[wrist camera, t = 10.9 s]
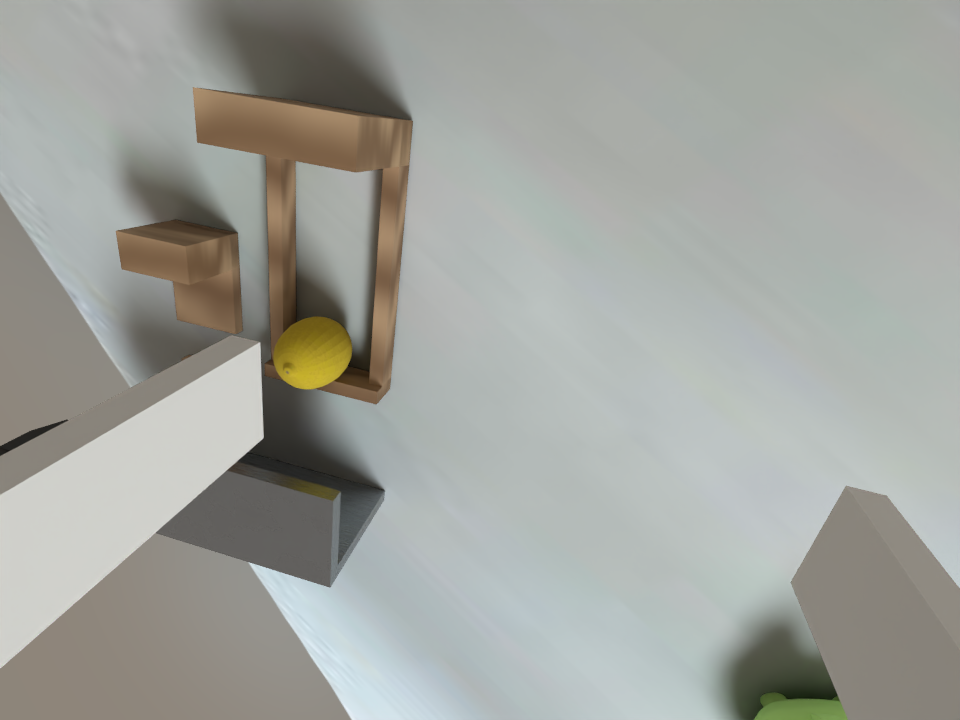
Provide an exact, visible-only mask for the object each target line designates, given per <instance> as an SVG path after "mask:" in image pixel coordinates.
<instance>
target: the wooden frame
mask: <svg viewBox="0 0 960 720" xmlns="http://www.w3.org/2000/svg"><path fill="white" fill-rule="evenodd" d="M193 95H194V107H195V120H196V133H197V142H198V143H203V144H208V145H214V146H219V147H224V148H229V149H235V150H240V151H245V152H251V153H256V154H261V155H266V176H267V214H268V252H269V291H270V329H271V360H269V361H268V362H266V363H265V376H267V377H271V378H275V379H279V380H283V379H282V378H281V377H280V376H279V374H278V372H277V371H276V368H275V365H274V361H273V353H274V348H275V345H276V343H277V341H278V339H279V338H280V336H281V335H282V334H283V333H284V332H285V331H286V330H287V329H288V328H289V327H290V326H291V325H293V324H294V323H296V174H295V161H298V162H303V163H309V164H314V165H319V166H325V167H330V168H335V169H341V170H346V171H351V172H363V171H370V170H377V169H383V177H382V192H381V207H380V223H379V238H378V253H377V268H376V284H375V299H374V314H373V329H372V345H371V360H370V372H368V371H364V370H360V369H356V368H352V367H348V366H347V368H346V369H345V370H344V372H343V373H342V374H341V375H340V376H339V377H338V378H337V379H335V380H334V381H332V382H331V383H329V384H327V385H325V386H322V387H319V388H315V389H318V390H322V391H326V392H330V393H334V394H338V395H342V396H346V397H350V398H354V399H357V400H361V401H365V402H369V403H373V404H377V403H378V402H379V401H380V400H381V399H382V397H383V396H384V395H385V394H386V393H387V392H388V390H389V389H390V382H391V370H392V359H393V347H394V335H395V324H396V312H397V301H398V289H399V277H400V266H401V254H402V242H403V231H404V219H405V207H406V196H407V184H408V172H409V161H410V149H411V138H412V126H413V121H410V120H404V119H398V118H393V117H387V116H381V115H375V114H369V113H363V112H358V111H352V110H346V109H340V108H334V107H328V106H322V105H317V104H311V103H305V102H299V101H293V100H287V99H282V98H274V97H266V96H258V95H250V94H242V93H234V92H226V91H218V90H210V89H202V88H194V87H193ZM283 381H284V380H283Z"/></svg>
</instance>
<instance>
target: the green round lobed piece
mask: <svg viewBox="0 0 960 720" xmlns="http://www.w3.org/2000/svg"><path fill="white" fill-rule="evenodd" d="M760 702H761V704H762V706H763V708H762V709H761V710H760V711H759V713H758V714H757V716H756V717H755V719H754V720H848V719H847V716H846V714H845V711H844V709H843V707H842V704H841V702H840V699H839V697H838V696H836V697H834V698H833V699H832V700H826V699H787V698H786V697H785V696H784V695H782V694H779V693H774V692H770V693H766V694H764V695H762V696H761V698H760Z"/></svg>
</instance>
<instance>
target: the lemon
mask: <svg viewBox="0 0 960 720" xmlns="http://www.w3.org/2000/svg"><path fill="white" fill-rule="evenodd" d="M351 356H352V343H351V339H350V336H349V334H348V333H347V331H346V330H345V328H344V327H343V326H342V325H341V324H339V323H338V322H336V321H334V320H332V319H329V318H326V317H317V316H316V317H310V318H305V319H302V320H300V321H298V322H296V323H294V324H293V325H291V326H290V327H289V328H288V329H287V330H286V331H285V332H284V333H283V334H282V335H281V336H280V338H279V339H278V341H277V343H276V345H275V348H274V353H273V361H274V365H275V368H276V371H277V372H278V374H279V376H280V377H281V378H282V379H283V380H284V381H285V382H287V383H288V384H289V385H291V386H293V387H296V388H300V389H315V388H319V387H322V386H325V385H327V384H329V383H331V382H332V381H334V380H335V379H337V378H338V377H339V376H340V375H341V374H342V373H343V372H344V370H345V369H346V368H347V366H348V364H349V362H350V359H351Z"/></svg>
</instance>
